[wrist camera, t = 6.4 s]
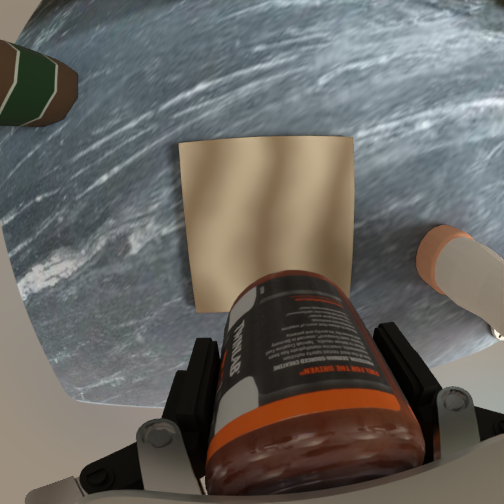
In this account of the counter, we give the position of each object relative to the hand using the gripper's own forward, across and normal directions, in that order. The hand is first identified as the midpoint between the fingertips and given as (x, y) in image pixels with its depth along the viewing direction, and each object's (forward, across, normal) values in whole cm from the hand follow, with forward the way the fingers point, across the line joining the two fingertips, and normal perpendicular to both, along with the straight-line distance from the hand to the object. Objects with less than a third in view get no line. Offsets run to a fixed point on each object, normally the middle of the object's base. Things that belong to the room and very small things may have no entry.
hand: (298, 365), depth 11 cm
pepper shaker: (+20, -20, +3) cm, 28 cm away
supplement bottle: (+3, 0, 0) cm, 3 cm away
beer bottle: (+19, +23, -18) cm, 35 cm away
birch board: (+19, 0, -1) cm, 19 cm away
